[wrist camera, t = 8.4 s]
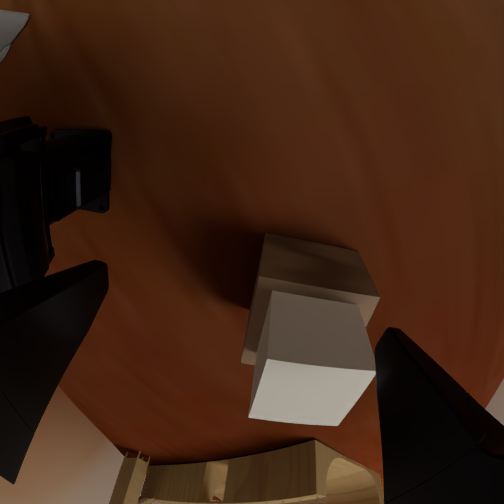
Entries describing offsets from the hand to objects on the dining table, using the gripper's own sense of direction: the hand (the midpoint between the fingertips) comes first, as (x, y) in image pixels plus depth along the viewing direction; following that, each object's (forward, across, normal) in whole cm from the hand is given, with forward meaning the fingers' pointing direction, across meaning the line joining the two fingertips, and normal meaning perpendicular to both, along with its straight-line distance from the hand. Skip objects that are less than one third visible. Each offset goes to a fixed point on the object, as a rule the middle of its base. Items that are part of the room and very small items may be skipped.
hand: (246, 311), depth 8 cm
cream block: (+6, -4, +6) cm, 10 cm away
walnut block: (+12, -4, +6) cm, 14 cm away
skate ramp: (+13, -11, +53) cm, 55 cm away
